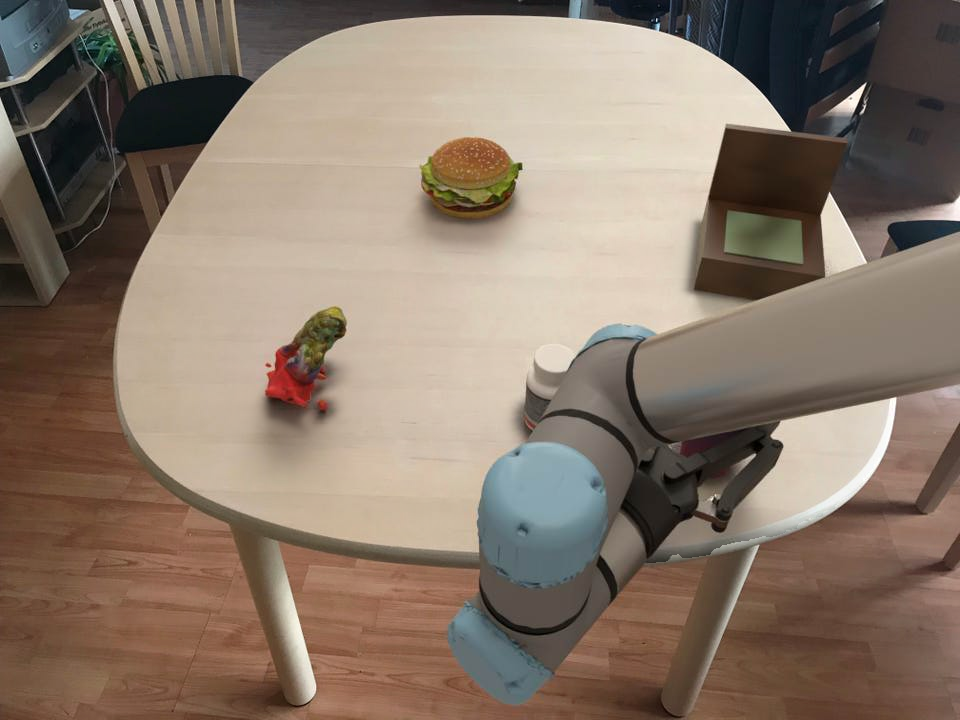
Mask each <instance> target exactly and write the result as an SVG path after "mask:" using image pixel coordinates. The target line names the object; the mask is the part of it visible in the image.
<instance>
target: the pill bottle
mask: <svg viewBox="0 0 960 720" xmlns="http://www.w3.org/2000/svg"><path fill="white" fill-rule="evenodd" d="M533 356H534V357H533V364H531V366H530V367H529V369H528V371H527V373H526V379H525V380H526V382H525V397H524V408H523V409H524V410H523V419H524V422H525V424H526V426H527V427H528V429H529V430H530V431H532V432H533V430H534V429H535V427H536V426H537V424H538V423H539V421H540V419H541V417H542V416H543V414H544V412H545V410H546V409H547V407H548V405H549V403H550V402H551V400H552V398H553V397H554V395H555V393H556V391H557V390H558V388H559V386H560V384H561V383H562V381H563V379H564V377H565V376H566V373H567V370H568V368H569V366H570V363H571V361H572V360H573V359H574V358H575V357H576V355H575V353H574V351H573V350H572V349H570V348H569V347H568V346H566V345H563V344H560V343H548V344H544V345H542V346H540V347H539V348H538V349H537V350H536V351H535V353H534V355H533Z"/></svg>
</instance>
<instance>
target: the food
mask: <svg viewBox="0 0 960 720" xmlns="http://www.w3.org/2000/svg"><path fill="white" fill-rule="evenodd" d="M419 168H420V170H421V172H420V174H421V179H420V182H421V183H420V185H421V189H422V190H423V192H424V193H426V194H427V195H428V196H429V198H430V200H431V202H432V204H433V206H434V208H436V209H437V210H439V211H441V212H442V213H444V214H446V215H447V216H450V217H454V218H460V219H465V220H467V219H468V220H469V219H470V220H471V219H483V218H484V219H485V218H487V217H490V216H493V215H495V214H498V213H501V212H502V211H503V210H504V209H506V207H507V206H509V205H510V204H511V202H512V200H513V193H514V191H515V189H516V186H517V182H516V181H517V180H518V178H519V175H520V174H519V173H520V171H523V162H515V161H514V160H513V159H512V158H511V156H509V154H508V152H507V150H506V149H505V148H503V147H502V146H501V144H498V143H497V142H494V141H493V140H490V139H487V138H483V137H477V136H475V137H471V136H465V137H459V138H456V139H453V140H449V141H446V143H443V145H441V146H440V147H439V148H437V149H436V150H435V151H434V153H433V154H432V156H430V155H429V156H428V158H427V162H426V163H425V164H423V165H421V164H420V165H419Z"/></svg>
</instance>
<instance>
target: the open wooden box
mask: <svg viewBox="0 0 960 720" xmlns="http://www.w3.org/2000/svg"><path fill="white" fill-rule="evenodd" d="M848 144H849V141H848V138H847V137H839V136H831V135H825V134H824V135H823V134H816V133H806V132H800V131H799V132H798V131H790V130H783V129H774V128H768V127H767V128H766V127H757V126H750V125H749V126H748V125H741V124H734V123H733V124H732V123H725V126H724V130H723V134H722V138H721V142H720V146H719V150H718V155H717V160H716V163H715V166H714V170H713V173H712V174H713V175H712V178H711V183H710V187H709V191H708V195H707V199H706V203H705V207H704V212H703V215H702V219H701V223H700V230H699V237H698V238H699V239H698V247H697V255H696V257H697V258H696V265H695V273H694V281H693V290H695V291H700V292H707V293H711V294H712V293H713V294H717V295H718V294H719V295H724V296H731V297H737V298H743V299H749V300H754V301H757V300H760V299H763V298H766V297H769V296H772V295H775V294H778V293H780V292H783V291H786V290H789V289H792V288H795V287H798V286H801V285H804V284H807V283H810V282H813V281H816V280H819V279H822V278H825V277H827V276H826V265H825V252H824V239H823V224H822V213H823V211H824V208H825V205H826V202H827V200H828V197H829V195H830V192H831V190H832V187H833V184H834V181H835V179H836V176H837V174H838V170H839V168H840V166H841V163H842V160H843V158H844V154H845V152H846V150H847V147H848Z"/></svg>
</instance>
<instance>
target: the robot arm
mask: <svg viewBox="0 0 960 720" xmlns="http://www.w3.org/2000/svg"><path fill="white" fill-rule="evenodd" d="M954 386H960V231H957V232H953V233H951V234H948V235H946V236H942V237H939V238H936V239H933V240H930V241H928V242H924V243H922V244H919V245H916V246H913V247H909V248H907V249H903V250H902V251H898V252H895V253H893V254H889V255H886V256H883V257H881V258H877V259H874V260H872V261H869V262H866V263H863V264H860V265H857V266H855V267H850V268H849V269H845V270H843V271H839V272H836V273H833V274H831V275H828V276H826V277H825V278H822V279H819V280H816V281H813V282H810V283H807V284H804V285H801V286H798V287H795V288H792V289H789V290H786V291H783V292H780V293H778V294H775V295H772V296H769V297H766V298H763V299H760V300H754V301H752V302H748V303H745V304H743V305H739V306H737V307H734V308H731V309H727V310H725V311H722V312H719V313H716V314H714V315H710V316H708V317H707V316H706V317H705V318H701V319H698V320H694V321H692V322H690V323H689V322H688V323H687V324H684V325H681V326H677V327H675V328H672V329H669V330H666V331H662V332H660V333H656V332H655V331H653V330H652V329H649V328H647V327H645V326H641V325H638V324H634V325H627V324H623V323H612V324H609V325H606V326H603V327H601V328H600V329H598V330H597V331H595V332H594V333H593V334H592V335H591V336H590V337H589V339H588V340H587V342H586V343H585V344H584V346H583V347H582V348H581V349H580V350H579V351H578V353H577V354H576V355H575V358H574V359H573V360H572V361H571V363H570V366H569V368H568V370H567V373H566V376H565V377H564V379H563V381H562V383H561V384H560V386H559V388H558V390H557V391H556V393H555V395H554V397H553V398H552V400H551V402H550V403H549V405H548V407H547V409H546V410H545V412H544V414H543V416H542V417H541V419H540V421H539V423H538V424H537V426H536V427H535V429H534V430H533V431H532V432H531V434H530V435H529V437H528V439H527V441H526V442H525V443H523V444H520V445H518V446H516V447H515V448H514V449H512V450H510V451H509V452H506V453H505V454H504V455H503V454H502V456H499V457H498V458H497V459H496V460H495V461H494V462H493V463H492V465H491V466H490V468H489V470H488V471H487V473H486V475H485V477H484V480H483V483H482V487H481V494H480V498H479V503H478V507H477V515H478V516H477V519H476V528H477V537H478V554H479V557H478V558H479V560H478V561H479V576H478V591H477V592H476V593H475V595H473V596H472V597H471V598H470V599H469V600H468V599H467V600H465V601H464V602H463V605H462V607H461V608H460V609H459V611H458V612H457V613H456V615H454V617H453V618H452V619H451V621H450V622H449V624H448V625H447V628H446V641H447V645H448V647H449V649H450V651H451V653H452V654H453V657H454V658H455V660H456V661H457V663H458V664H459V665H460V666H461V668H462V669H463V671H465V673H466V674H467V675H468V677H470V678H471V679H472V680H473V681H474V683H476V684H477V685H478V686H479V687H480V688H481V689H482V690H483V691H484V692H486V693H487V694H488V695H489V696H491V697H492V698H494V699H495V700H497V701H499V702H501V703H503V704H506V705H509V706H521V705H523V704H525V703H527V702H528V701H529V700H530V699H531V698H532V697H533V696H534V695H535V694H536V693H537V692H538V691H539V690H540V689H541V688H542V687H543V685H545V684H546V682H548V681H549V680H551V679H553V678H554V677H555V675H556V671H557V670H558V669H559V668H560V666H561V665H562V663H563V662H564V661H565V660H566V658H567V657H568V656H569V655H570V654H571V653H572V651H573V650H574V649H575V647H577V645H578V644H579V643H580V641H582V639H583V638H584V637H585V636H586V635H587V633H588V632H589V630H590V629H591V628H592V627H593V626H594V624H596V623H597V621H598V620H599V619H600V617H601V616H602V615H603V613H604V612H605V611H606V610H607V609H608V607H609V606H610V605H611V604H612V603H613V602H614V600H615V599H616V598H617V597H618V596H619V594H621V592H622V591H623V590H624V589H625V588H626V587H627V585H629V583H630V582H631V580H632V579H634V577H635V576H636V574H638V573H639V571H640V570H641V569H642V568H643V567H644V565H645V563H646V561H647V559H649V558H651V557H653V555H654V554H655V552H656V551H657V550H658V549H659V548H660V547H661V545H662V544H663V543H664V542H665V541H666V539H667V538H668V537H669V536H670V535H671V534H672V532H673V531H674V530H675V529H676V527H677V526H678V525H679V524H681V523H683V522H685V521H689V520H691V519H692V518H693V517H695V518H697V519H700V520H703V521H705V522H708V523H710V528H711V529H712V530H713V532H715V533H719V534H721V533H725V531H726V530H727V529H728V528H727V527H728V525H729V523H730V520H731V518H732V515H733V513H734V511H735V509H736V508H737V507H738V506H739V505H740V504H741V503H742V502H743V501H744V500H745V499H746V497H747V496H748V495H750V494H751V492H752V491H753V490H754V489H755V488H756V487H757V486H758V485H759V484H760V483H761V481H763V479H764V478H765V477H766V476H767V475H768V474H769V473H770V472H771V471H772V470H773V469H774V468H775V467H776V465H777V463H778V461H779V459H780V457H781V454H782V452H783V450H784V446H785V445H784V443H783V442H782V441H781V440H779V439H775V438H773V437H772V434H773V433H774V432H775V431H776V430H777V428H778V427H779V426H780V423H781V422H783V421H788V420H792V419H797V418H802V417H803V418H804V417H807V416H812V415H817V414H821V413H827V412H832V411H837V410H841V409H847V408H852V407H857V406H861V405H866V404H871V403H875V402H880V401H885V400H890V399H894V398H900V397H904V396H905V397H906V396H909V395H914V394H915V395H916V394H919V393H925V392H930V391H934V390H940V389H943V388H949V387H954ZM744 428H746V430H745V431H743V432H741V433H739V434H737V435H735V436H733V437H732V438H730V439H728V440H726V441H724V442H722V443H720V444H718V445H717V446H715V447H713V448H711V449H709V450H707V451H705V452H703V453H701V452H698V453H696V454H694V455H692V456H690V457H688V458H687V457H686V456H684V455H681V454H680V452H679V453H678V452H676V451H674V450H673V449H672V448H671V447H670V446H669V445H673V444H677V443H682V441H685V440H690V439H695V438H700V437H705V436H710V435H715V434H720V433H725V432H729V431H734V430H739V429H744ZM753 455H755V456H753ZM752 456H753V458H752V459H751V460H750V461H748V463H747V464H746V465H745V466H744V467H743V468H742V469H741V470H740V471H739V472H738V473H737V474H736V475H735V476H734V477H733V478H732V479H731V480H730V481H729V483H727V485H726V486H725V487H724V488H723V490H722V492H721V494H720V493H715V494H714V495H710V496H709V498H707V500H700V499H699V498H700V497H699V489H698V488H700V487H701V486H702V485H703V484H704V483H705V482H706V481H707V480H709V479H712V478H711V477H713V476H715V475H717V474H718V473H720V472H722V471H724V470H726V469H727V468H729V467H731V468H732V467H733V466H735V465H736V464H738V463H741V462H742V461H744V460H746V459H748V458H749V457H752Z"/></svg>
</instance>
